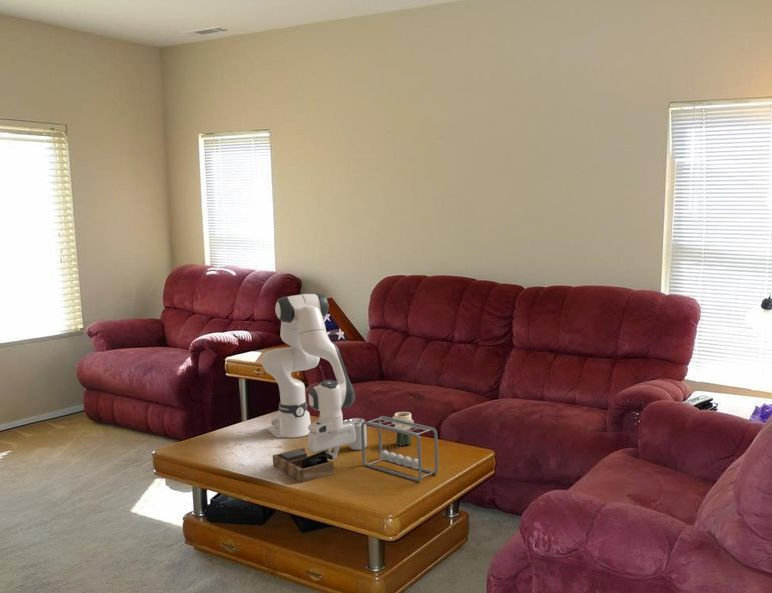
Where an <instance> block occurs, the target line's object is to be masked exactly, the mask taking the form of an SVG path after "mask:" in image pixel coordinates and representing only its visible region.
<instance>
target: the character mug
mask: <svg viewBox="0 0 772 593" xmlns="http://www.w3.org/2000/svg"><path fill="white" fill-rule="evenodd" d="M392 418H393V419H398V420H402V421H406V422H411V423H414V420H413V419H412V413H411V412H409V411H401V412H400V411H399V412H396V413H394V415H393V416H392ZM392 425H394V427H395V428H399V429H403V428H404V429H403V430H407V431H411V429H413V428H414V427H409V426H406V425H403V427H402V424H398V423H394V422H392ZM399 425H400V426H399ZM396 426H397V427H396ZM406 427H407V428H406ZM401 434H402V433H398V432H396V439H395V443H396V442H397V446H400V444H401V446H405V445H406V446H408V441H409V445H410V444H411V443H412V439H411V440H410V438H411V436H410V435H406V434H402V435H403V438H401ZM403 441H404V443H403Z"/></svg>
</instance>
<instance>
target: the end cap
mask: <svg viewBox="0 0 772 593" xmlns="http://www.w3.org/2000/svg"><path fill="white" fill-rule="evenodd" d="M328 459H329V460H333V456H332V455H330V454H328V453H327V451H326V450H322V451H319V452H315V453H313V454H312V455H309V456H308V455H307V457H306V458H304V459H303V460H302V467H303V469H304V468H308V467H312V466H316V465H319V464H323V463H327V462H330V461H329V460H328Z"/></svg>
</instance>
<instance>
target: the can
mask: <svg viewBox="0 0 772 593" xmlns="http://www.w3.org/2000/svg"><path fill="white" fill-rule="evenodd" d="M350 419H351V420H353V421H354V425H355V427H354V428H355V433H356V441H355V442H354V443H350V444H348V447H349V448H350V449H351V450H353V451H362V439H361V424H362V422H364V421H365V419H364V418H362V417H361V418H360V417H356V418H350ZM367 436H368V434H367V425H366V424H365V425H364V441H365V448H366V447H367V446H368V441H367V440H368V438H367Z"/></svg>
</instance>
